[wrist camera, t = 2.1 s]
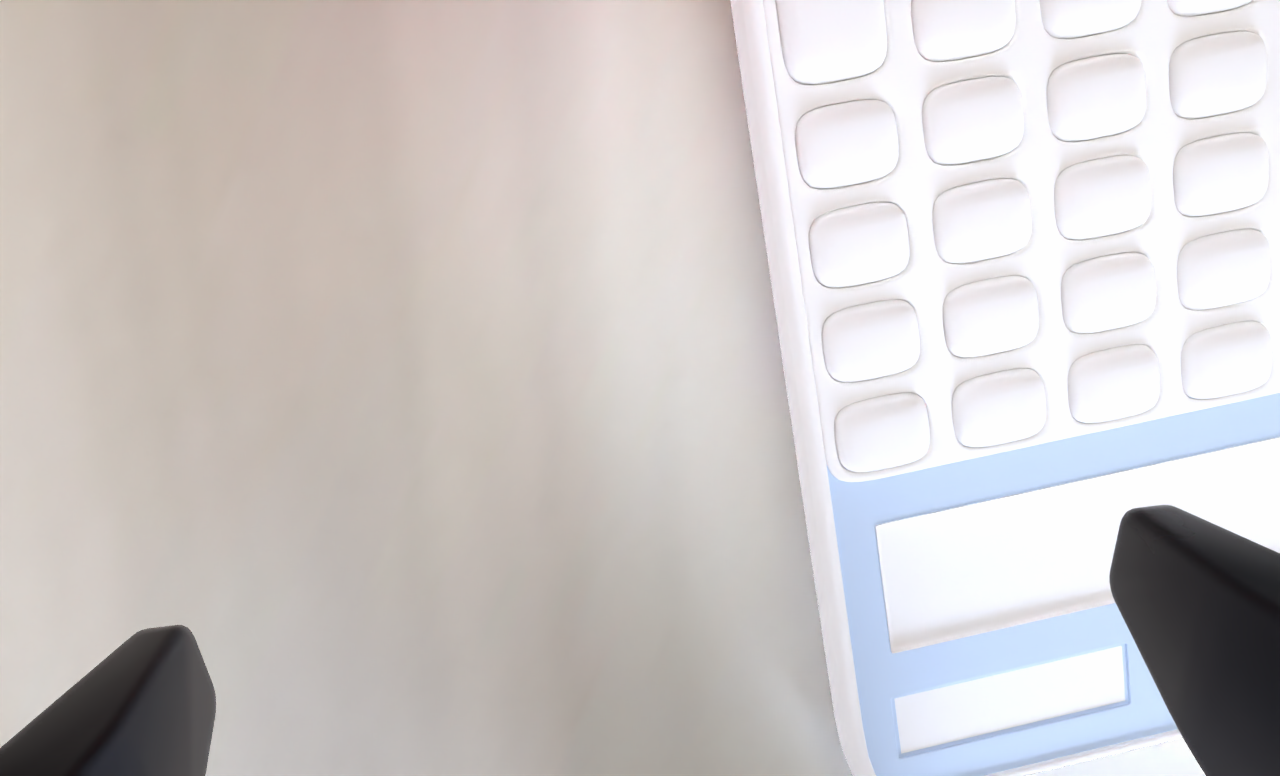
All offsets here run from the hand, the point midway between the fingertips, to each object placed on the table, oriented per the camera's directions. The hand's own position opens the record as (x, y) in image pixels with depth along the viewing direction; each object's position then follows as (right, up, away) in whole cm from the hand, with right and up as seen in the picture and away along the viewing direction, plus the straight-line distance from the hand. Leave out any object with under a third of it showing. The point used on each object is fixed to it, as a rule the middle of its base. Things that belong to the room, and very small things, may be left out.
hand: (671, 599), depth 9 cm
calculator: (+9, +4, +12) cm, 16 cm away
